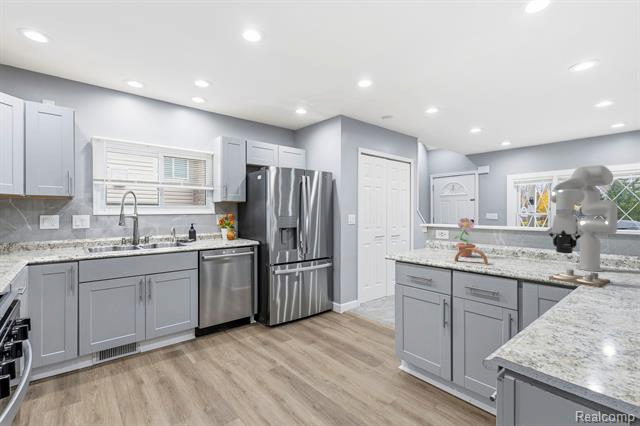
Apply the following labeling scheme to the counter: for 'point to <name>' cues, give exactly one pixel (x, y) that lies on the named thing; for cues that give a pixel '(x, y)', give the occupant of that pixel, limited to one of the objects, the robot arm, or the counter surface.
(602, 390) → the counter surface
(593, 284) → the board
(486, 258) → the arch
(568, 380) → the counter surface
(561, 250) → the supplement bottle
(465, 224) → the decorative flower
